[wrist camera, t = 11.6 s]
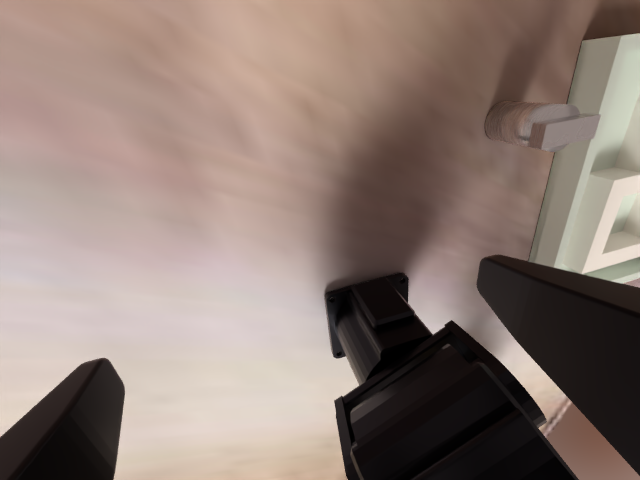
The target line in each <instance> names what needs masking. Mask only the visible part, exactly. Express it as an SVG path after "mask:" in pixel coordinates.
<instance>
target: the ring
mask: <svg viewBox="0 0 640 480" xmlns="http://www.w3.org/2000/svg"><path fill="white" fill-rule="evenodd" d="M635 193H637V195H636V198H635V200H634V203H633V205H632V208H631V210H630V213H629V216H628V218H627V221H626V223H625V226H624V228H623V231H621V232H617V233H614V234H610V231H611V229H612V226H613V223H614V221H615V218H616V215H617V213H618V210H619V207H620V205H621V202H622V199H623V197H624V196H627V195H631V194H635ZM609 234H610V235H609ZM637 257H640V93H639V96H638V99H637V102H636V105H635V108H634V110H633V113H632V116H631V119H630V122H629V125H628V128H627V131H626V134H625V137H624V140H623V143H622V146H621V148H620V151H619V154H618V157H617V160H616V163H615V166H614V167H612V168H608V169H603V170H599V171H595V172H590V174H589V178H588V181H587V184H586V187H585V191H584V194H583V197H582V200H581V204H580V207H579V210H578V213H577V217H576V220H575V223H574V227H573V230H572V233H571V236H570V240H569V243H568V246H567V249H566V253H565V256H564V259H563V262H562V264H563V265H565V266H567V267H569V268H571V269H573V270H574V271H576V272H578V273H580V274H584V273H587V272H591V271H594V270H597V269H601V268H604V267H607V266H611V265H614V264H617V263H621V262H624V261H627V260H630V259H634V258H637Z"/></svg>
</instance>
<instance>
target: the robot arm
mask: <svg viewBox="0 0 640 480" xmlns="http://www.w3.org/2000/svg"><path fill="white" fill-rule="evenodd" d="M402 278H403V279H402ZM401 279H402V280H401ZM400 280H401V281H400ZM408 280H409V279H408V277H407V276H406V275H405V274H404V273H397V274H394V275H390V276H386V277H382V278H379V279H375V280H371V281H367V282H364V283H360V284H356V285H352V286H348V287H345V288H341V289H337V290H333V291H330V292H328V293H327V294H326V295H325V305H326V312H327V320H328V327H329V335H330V342H331V349H332V354H333V356H334V357H335V358H342V357H345V356H346V357H347V359H348V361H349V363H350V366H351V368H352V370H353V372H354V374H355V377H356V379H357V381H358V383H359V386H358V387H357V388H355V389H354V390H352V391H351V392H349V393H348V394H346V395H345V396H341V397H339V398H338V399H336V400H335V401H334V402H335V408H336V419H337V425H338V431H339V437H340V443H341V449H342V455H343V460H344V466H345V472H346V476H347V479H348V480H579V479H578V478H577V477H576V476H575V474H574V473H573V472H572V471H571V469H570V468H569V467H568V465H567V464H566V463H565V462H564V461H563V459H562V458H561V457H560V455H559V454H558V453H557V452H556V450H555V449H554V448H553V446H552V445H551V444H550V443H549V441H548V440H547V439H546V438H545V436H544V435H543V434H542V433H541V431H540V430H539V429H538V428H539V427H540V426H542V425H543V424H545V423H546V422H547V421H546V418H545V416H544V414H543V412H542V411H541V409H540V408H539V406H538V405H537V404H536V402H535V401H534V400H533V398H532V397H531V396H530V394H529V393H528V392H527V391H526V390H525V388H524V387H523V386H522V385H521V384H520V382H519V381H518V380H517V379H516V378H515V377H514V376H513V375H512V374H511V372H510V371H509V370H508V369H507V368H506V367H505V366H504V365H503V364H502V363H501V362H500V361H499V360H498V359H496V358H495V357H494V356H493V355H492V354H491V353H490V352H488V351H487V350H486V349H485V348H484V347H483V346H482V345H480V344H479V343H478V342H477V341H476V340H475V339H473V338H472V337H471V336H470V335H469V334H468V333H466V332H465V331H464V330H463V329H462V328H461V327H459V326H458V325H457V324H456V323H455V322H454V321H452V320H451V321H450V322H448V323H447V324H445V327H444V328H442V329H441V330H439V331H438V332H436V333H435V334H434V335H433V334H432V333H431V332H430V331H429V329H428V328H427V327H426V326H425V325H424V323H423V322H422V321H421V320H420V319H419V317H418V316H417V315H416V314H415V312H414V310H413V309H412V308H411V306H410V305H409V304H408ZM477 288H478V291H479V293H480V294H481V295H482V297H483V298H484V299H485V301H486V302H487V303H488V305H489V306H490V307H491V308H492V310H493V311H494V312H495V314H496V315H497V316H498V318H499V319H500V320H501V322H502V323H503V324H504V326H505V327H506V328H507V330H508V331H509V332H510V333H511V335H512V336H513V337H514V338H515V340H516V341H517V342H518V343H519V344H520V345H521V347H522V348H523V349H524V350H525V351H526V352H527V353H528V354H529V355H530V356H531V358H532V359H533V360H534V361H535V362H536V363H537V364H538V365H539V366H540V367H541V368H542V370H543V371H544V372H545V373H546V374H547V375H548V376H549V377H550V378H551V379H552V380H553V382H554V383H555V384H556V385H557V386H558V387H559V388H560V389H561V390H562V391H563V393H564V394H565V395H566V396H567V397H568V398H569V399H570V400H571V401H572V402H573V403H574V405H575V406H576V407H577V408H578V409H579V410H580V411H581V412H582V413H583V414H584V415H585V417H586V418H587V419H588V420H589V421H590V422H591V423H592V424H593V425H594V426H595V427H596V429H597V430H598V431H599V432H600V433H601V434H602V435H603V436H604V437H605V438H606V439H607V441H608V442H609V443H610V444H611V445H612V446H613V447H614V448H615V449H616V450H617V452H619V454H620V455H621V456H622V457H623V458H624V459H625V460H626V461H627V462H628V464H629V465H630V466H631V467H632V468H633V469H634V470H635V471H636V472H637V473H638V475H639V476H640V288H638V287H634V286H630V285H626V284H621V283H617V282H613V281H609V280H604V279H600V278H596V277H592V276H588V275H583V274H579V273H575V272H571V271H566V270H562V269H558V268H554V267H550V266H545V265H541V264H537V263H533V262H528V261H524V260H520V259H516V258H511V257H507V256H503V255H492V256H488V257H485V258H483V259H482V260H481V262H480V266H479V272H478V278H477ZM332 297H334V298H333V299H332V300H330V298H332ZM124 397H125V388H124V384H123V382H122V380H121V378H120V377H119V375H118V374H117V372H116V370H115V369H114V367H113V365H112V364H111V362H110V361H109V360H108V359H106V358H100V359H96V360H92V361H88V362H85V363H83V364H81V365H80V366H79V367H77V368H76V369H75V370H74V371H73V372H72V373H71V374H70V375H69V376H68V377H66V378H65V379H64V380H63V381H62V382H61V383H60V384H59V385H58V386H56V387H55V388H54V389H53V390H52V391H51V392H50V393H49V394H48V395H47V396H45V397H44V398H43V399H42V400H41V401H40V402H39V403H38V404H37V405H35V406H34V407H33V408H32V409H31V410H30V411H29V412H28V413H27V414H26V415H24V416H23V417H22V418H21V419H20V420H19V421H18V422H17V423H16V424H14V425H13V426H12V427H11V428H10V429H9V430H8V431H7V432H6V433H5V434H3V435H2V436H1V437H0V480H113V479H114V474H115V468H116V462H117V454H118V446H119V438H120V430H121V422H122V413H123V405H124Z"/></svg>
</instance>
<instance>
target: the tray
mask: <svg viewBox="0 0 640 480" xmlns="http://www.w3.org/2000/svg"><path fill="white" fill-rule="evenodd" d="M639 93H640V33H637V34H629V35H622V36H614V37H606V38H599V39H591V40H583V41H582V44H581V48H580V52H579V57H578V61H577V65H576V69H575V73H574V77H573V81H572V85H571V89H570V93H569V97H568V102H567V104H568V105H574V106H576V107H577V108H578V110H579V112H580V114H584V113H589V114H601V117H600V120H599V124H598V127H597V130H596V134H595V137H594V139H589V140H584V141H580V142H575V143H570V144H568V145H567V146H566V147H564V148H563V149H561V150H559V151H556V152H555V155H554V159H553V163H552V167H551V171H550V175H549V179H548V183H547V187H546V191H545V196H544V200H543V204H542V208H541V212H540V216H539V220H538V224H537V228H536V232H535V236H534V240H533V245H532V249H531V253H530V257H529V261H528V262H533V263H537V264H541V265H545V266H550V267H554V268H558V269H562V270H566V271H571V272H575V273H578V272H576V271H574V270H573V269H571V268H569V267H567V266H565V265H563V264H562V262H563V259H564V256H565V253H566V249H567V246H568V243H569V240H570V236H571V233H572V230H573V227H574V223H575V220H576V217H577V213H578V210H579V207H580V204H581V200H582V197H583V194H584V191H585V187H586V184H587V181H588V178H589V174H590V172H595V171H599V170H603V169H608V168H612V167H614V166H615V163H616V160H617V157H618V154H619V151H620V148H621V146H622V143H623V140H624V137H625V134H626V131H627V128H628V125H629V122H630V119H631V116H632V113H633V110H634V108H635V105H636V102H637V99H638V96H639ZM636 195H637V193H635V194H631V195H627V196H624V197H623V199H622V202H621V205H620V207H619V210H618V213H617V215H616V218H615V221H614V223H613V226H612V229H611V231H610V234H614V233H617V232H621V231H623V228H624V226H625V223H626V221H627V218H628V216H629V213H630V210H631V208H632V205H633V203H634V200H635V198H636ZM610 234H609V235H610ZM579 274H580V273H579ZM583 275H588V276H592V277H596V278H600V279H604V280H609V281H613V282H617V283H621V284H622V283H625V282H629V281H632V280H635V279H638V278H640V257H637V258H634V259H630V260H627V261H624V262H621V263H617V264H614V265H611V266H607V267H604V268H601V269H597V270H594V271H591V272H587V273H584V274H583Z"/></svg>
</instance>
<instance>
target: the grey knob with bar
mask: <svg viewBox="0 0 640 480" xmlns="http://www.w3.org/2000/svg"><path fill="white" fill-rule="evenodd" d="M600 117H601V114H589V113H584V114H580V112H579V110H578V108H577V107H576V106H574V105H568V104H550V103H532V102H514V101H503V102H500V103H498V104H497V105H495V106H494V107H493V108H492V109H491V111H490V112H489V114H488V116H487V118H486V122H485V132H486V135H487V136H488V137H489V138H490V139H492V140H495V141H500V142H505V143H510V144H515V145H520V146H525V147H530V148H535V149H540V150H545V151H550V152H556V151H559V150H561V149H563V148H564V147H566V146H567V145H568V144H570V143H575V142H580V141H584V140H589V139H594V137H595V134H596V130H597V127H598V124H599V120H600Z"/></svg>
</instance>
